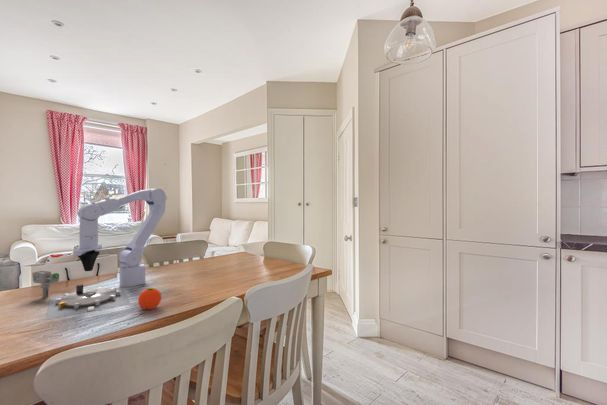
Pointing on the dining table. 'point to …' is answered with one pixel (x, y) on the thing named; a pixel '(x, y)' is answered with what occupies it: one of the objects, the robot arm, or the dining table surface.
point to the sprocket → (87, 297)
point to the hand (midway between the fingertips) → (88, 270)
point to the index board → (67, 311)
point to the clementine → (149, 298)
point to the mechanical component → (45, 280)
